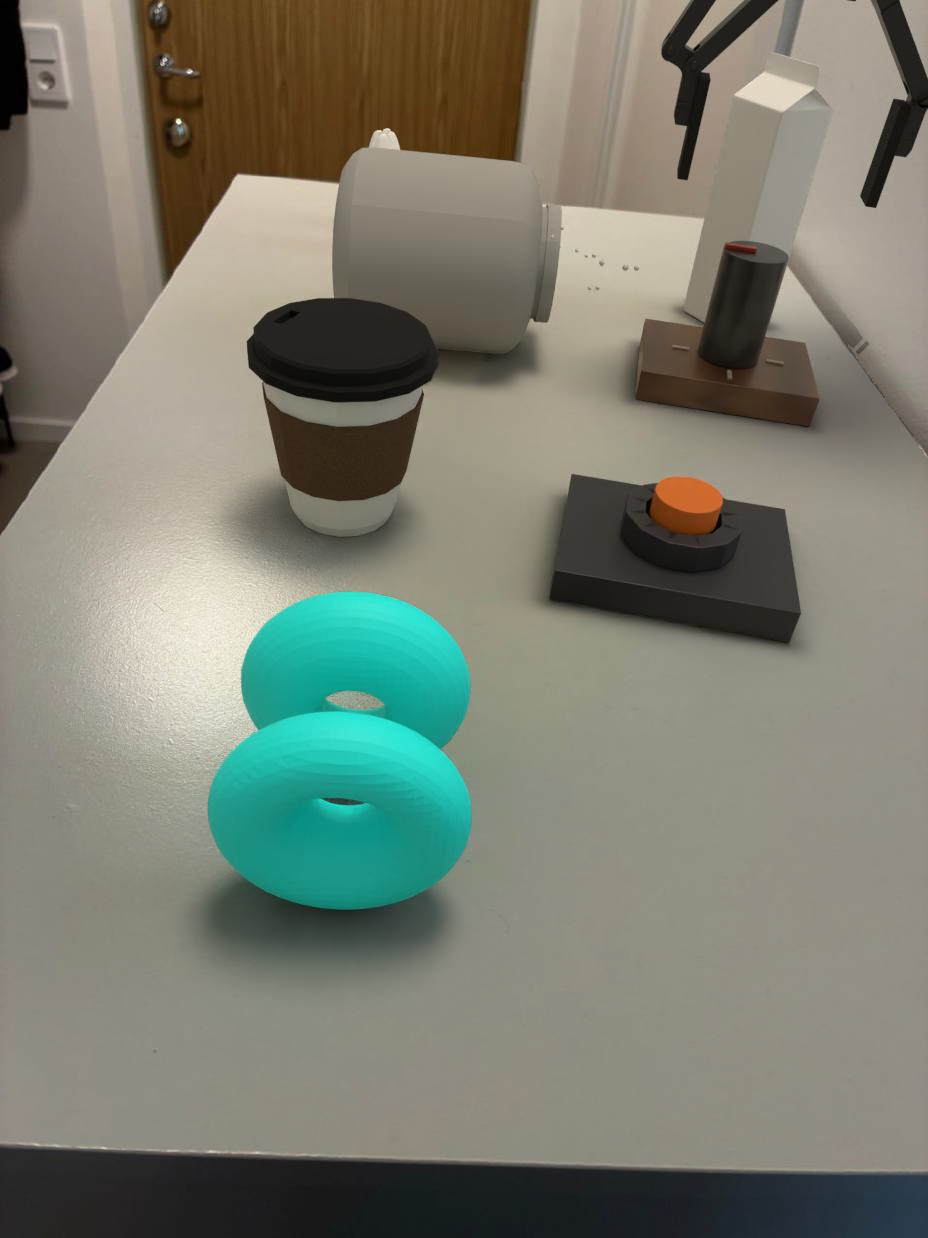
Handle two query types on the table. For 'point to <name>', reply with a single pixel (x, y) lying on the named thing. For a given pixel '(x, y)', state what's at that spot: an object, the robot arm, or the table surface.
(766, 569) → the grey button base
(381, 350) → the coffee cup
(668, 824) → the table surface
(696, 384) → the dial panel
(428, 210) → the jar
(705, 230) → the milk
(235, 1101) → the table surface
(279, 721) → the donuts
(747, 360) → the temp dial
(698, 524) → the power button
